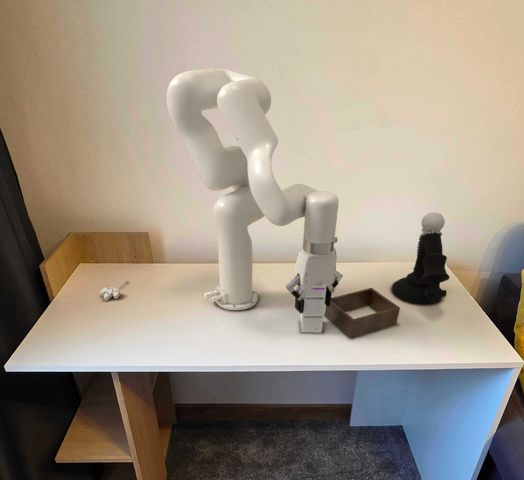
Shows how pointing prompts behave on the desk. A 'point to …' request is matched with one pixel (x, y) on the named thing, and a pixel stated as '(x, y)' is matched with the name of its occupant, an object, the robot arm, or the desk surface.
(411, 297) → the sculpture
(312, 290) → the syrup box
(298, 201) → the robot arm
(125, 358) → the desk surface
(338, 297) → the bin
